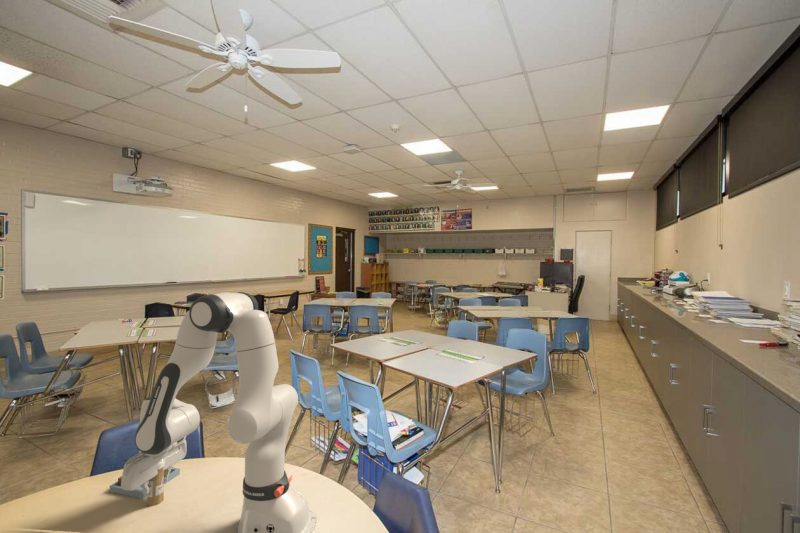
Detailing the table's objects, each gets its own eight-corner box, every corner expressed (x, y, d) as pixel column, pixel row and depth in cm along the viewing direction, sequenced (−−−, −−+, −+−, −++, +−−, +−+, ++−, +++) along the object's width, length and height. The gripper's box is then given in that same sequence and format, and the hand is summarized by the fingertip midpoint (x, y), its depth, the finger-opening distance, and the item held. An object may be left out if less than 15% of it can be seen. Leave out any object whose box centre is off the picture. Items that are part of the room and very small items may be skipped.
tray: (179, 475, 126) (179, 468, 126) (143, 500, 113) (143, 492, 113) (148, 469, 130) (149, 463, 130) (109, 493, 116) (109, 485, 116)
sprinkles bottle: (163, 504, 111) (164, 462, 111) (146, 509, 108) (147, 466, 109) (164, 496, 115) (164, 455, 115) (147, 501, 112) (147, 460, 112)
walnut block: (138, 483, 121) (138, 471, 121) (129, 490, 117) (129, 478, 117) (127, 482, 121) (127, 471, 121) (117, 490, 117) (117, 478, 117)
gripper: (132, 463, 101) (131, 510, 101) (190, 431, 121) (189, 470, 121) (115, 459, 102) (114, 506, 102) (175, 428, 122) (174, 468, 122)
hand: (155, 487), depth 112 cm, fingers open, 5 cm apart
